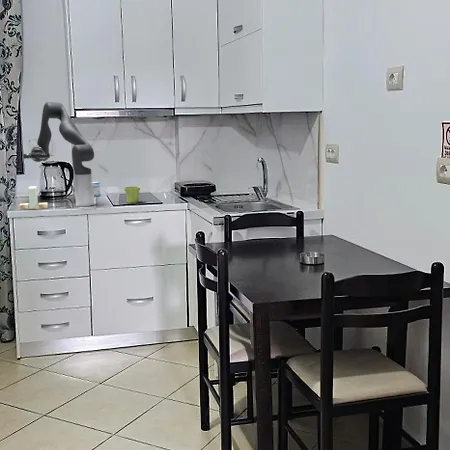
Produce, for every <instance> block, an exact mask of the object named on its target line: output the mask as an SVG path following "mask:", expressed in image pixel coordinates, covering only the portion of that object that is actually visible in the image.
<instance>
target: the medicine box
mask: <svg viewBox="0 0 450 450" xmlns="http://www.w3.org/2000/svg"><path fill="white" fill-rule="evenodd" d="M92 187H93V188H94V198H97V196H98V197H101V196H102V194H101V182H100V181H92Z"/></svg>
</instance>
